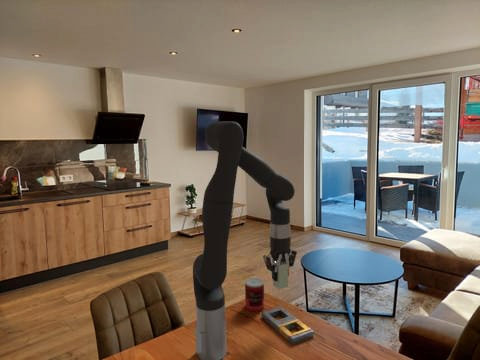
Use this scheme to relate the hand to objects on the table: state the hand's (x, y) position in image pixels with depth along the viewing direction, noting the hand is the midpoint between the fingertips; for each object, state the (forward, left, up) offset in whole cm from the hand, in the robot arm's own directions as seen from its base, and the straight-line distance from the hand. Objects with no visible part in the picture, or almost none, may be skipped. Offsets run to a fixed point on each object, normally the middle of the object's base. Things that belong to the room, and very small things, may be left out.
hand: (280, 279), depth 127 cm
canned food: (-3, +15, -17) cm, 23 cm away
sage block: (0, 0, -3) cm, 3 cm away
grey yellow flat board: (0, -3, -17) cm, 17 cm away
